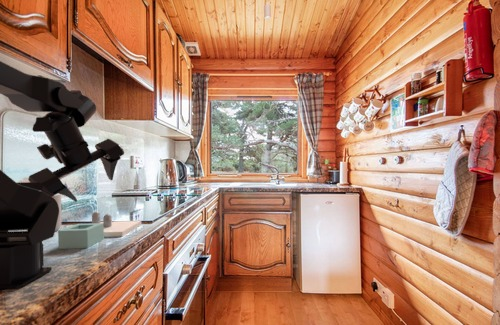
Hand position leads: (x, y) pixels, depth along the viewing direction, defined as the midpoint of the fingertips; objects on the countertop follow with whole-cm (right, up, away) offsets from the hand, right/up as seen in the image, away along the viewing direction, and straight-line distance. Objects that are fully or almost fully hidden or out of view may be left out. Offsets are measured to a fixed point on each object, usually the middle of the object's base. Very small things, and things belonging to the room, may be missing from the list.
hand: (94, 189), depth 62 cm
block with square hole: (0, -12, -4) cm, 13 cm away
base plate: (0, -12, +7) cm, 14 cm away
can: (-18, -13, +7) cm, 23 cm away
